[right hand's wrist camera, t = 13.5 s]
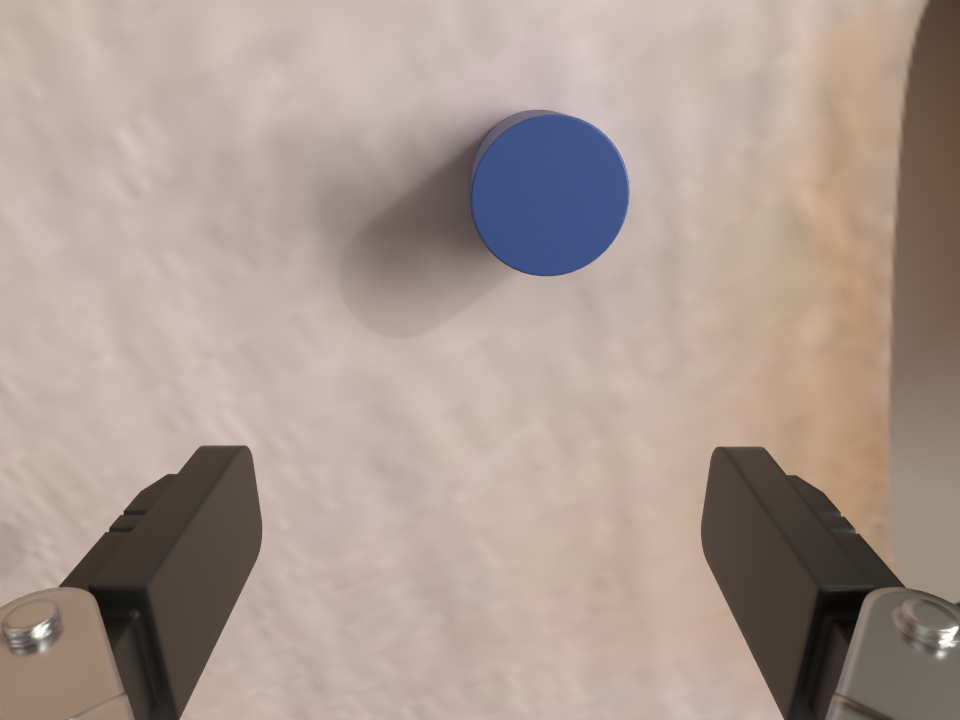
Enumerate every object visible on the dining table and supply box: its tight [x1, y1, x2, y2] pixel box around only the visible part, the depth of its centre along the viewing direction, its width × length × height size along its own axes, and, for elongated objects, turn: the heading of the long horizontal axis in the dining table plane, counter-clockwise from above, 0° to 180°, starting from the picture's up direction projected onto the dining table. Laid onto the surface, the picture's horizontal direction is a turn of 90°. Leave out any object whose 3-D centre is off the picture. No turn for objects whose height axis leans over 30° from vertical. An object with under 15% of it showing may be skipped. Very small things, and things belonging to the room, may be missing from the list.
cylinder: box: [470, 110, 629, 276], centre depth 21 cm, size 4×4×4 cm
